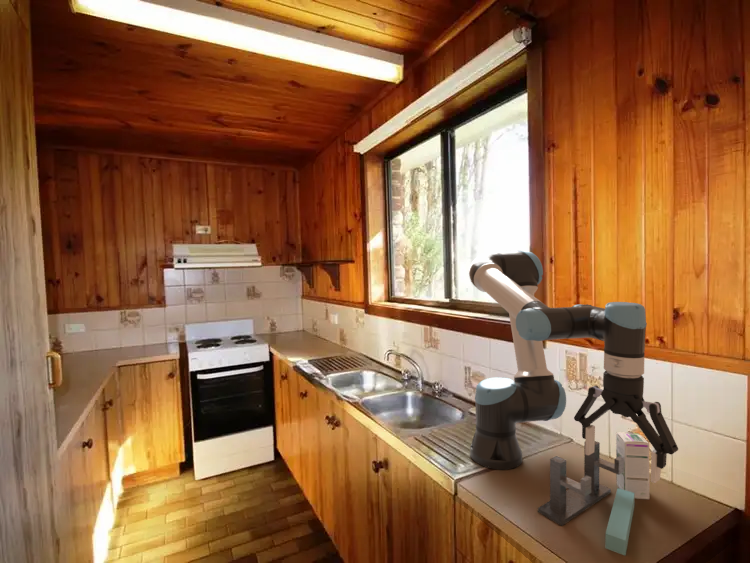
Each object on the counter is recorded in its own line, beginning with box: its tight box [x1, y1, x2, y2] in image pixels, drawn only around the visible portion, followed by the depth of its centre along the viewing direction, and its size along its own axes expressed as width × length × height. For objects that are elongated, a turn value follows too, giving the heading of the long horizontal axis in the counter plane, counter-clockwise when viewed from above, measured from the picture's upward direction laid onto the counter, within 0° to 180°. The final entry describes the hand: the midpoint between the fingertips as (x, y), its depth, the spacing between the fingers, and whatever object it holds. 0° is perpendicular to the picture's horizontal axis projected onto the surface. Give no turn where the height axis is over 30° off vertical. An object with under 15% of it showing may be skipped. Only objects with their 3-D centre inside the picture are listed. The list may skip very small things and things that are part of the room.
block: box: [604, 487, 636, 556], centre depth 88 cm, size 4×20×4 cm, turn 142°
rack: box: [537, 440, 624, 527], centre depth 94 cm, size 10×22×13 cm, turn 123°
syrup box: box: [615, 431, 651, 500], centre depth 99 cm, size 6×6×14 cm
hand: (620, 466), depth 87 cm, fingers open, 13 cm apart
